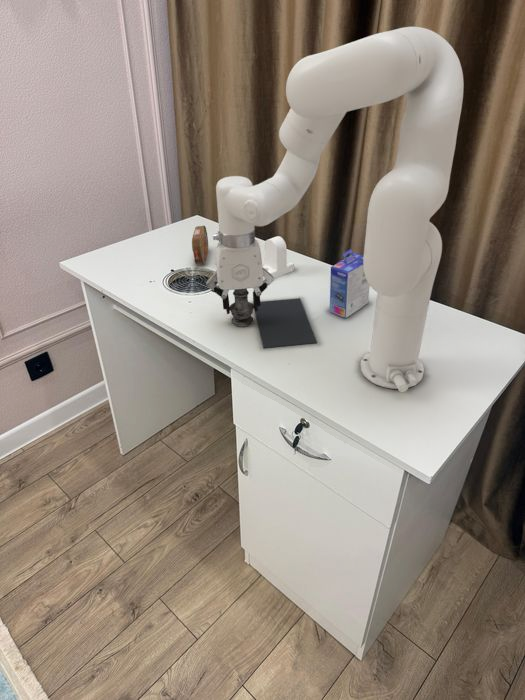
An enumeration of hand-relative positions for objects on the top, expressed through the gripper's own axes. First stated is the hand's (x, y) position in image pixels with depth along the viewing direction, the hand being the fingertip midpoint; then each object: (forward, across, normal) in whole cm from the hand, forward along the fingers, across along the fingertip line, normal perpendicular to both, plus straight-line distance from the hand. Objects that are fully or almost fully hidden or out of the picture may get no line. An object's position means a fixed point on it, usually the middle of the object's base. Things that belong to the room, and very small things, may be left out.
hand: (241, 309), depth 119 cm
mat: (+3, +10, -2) cm, 10 cm away
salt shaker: (+3, 0, 0) cm, 3 cm away
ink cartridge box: (+4, +26, +2) cm, 27 cm away
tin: (+3, -8, +37) cm, 38 cm away
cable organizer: (+4, +12, +24) cm, 27 cm away
